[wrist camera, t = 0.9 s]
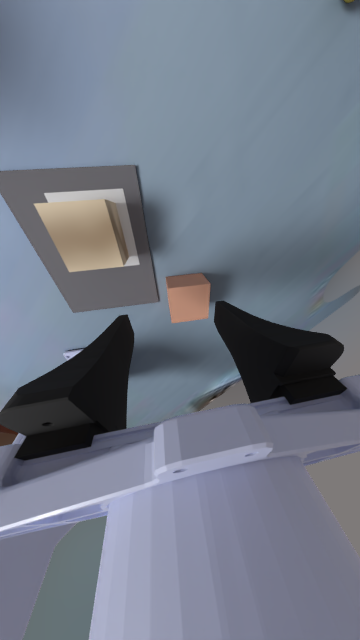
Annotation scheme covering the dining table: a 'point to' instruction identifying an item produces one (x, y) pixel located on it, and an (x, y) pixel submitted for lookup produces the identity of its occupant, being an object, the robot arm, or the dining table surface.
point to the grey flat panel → (78, 185)
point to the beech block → (86, 233)
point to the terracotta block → (188, 297)
